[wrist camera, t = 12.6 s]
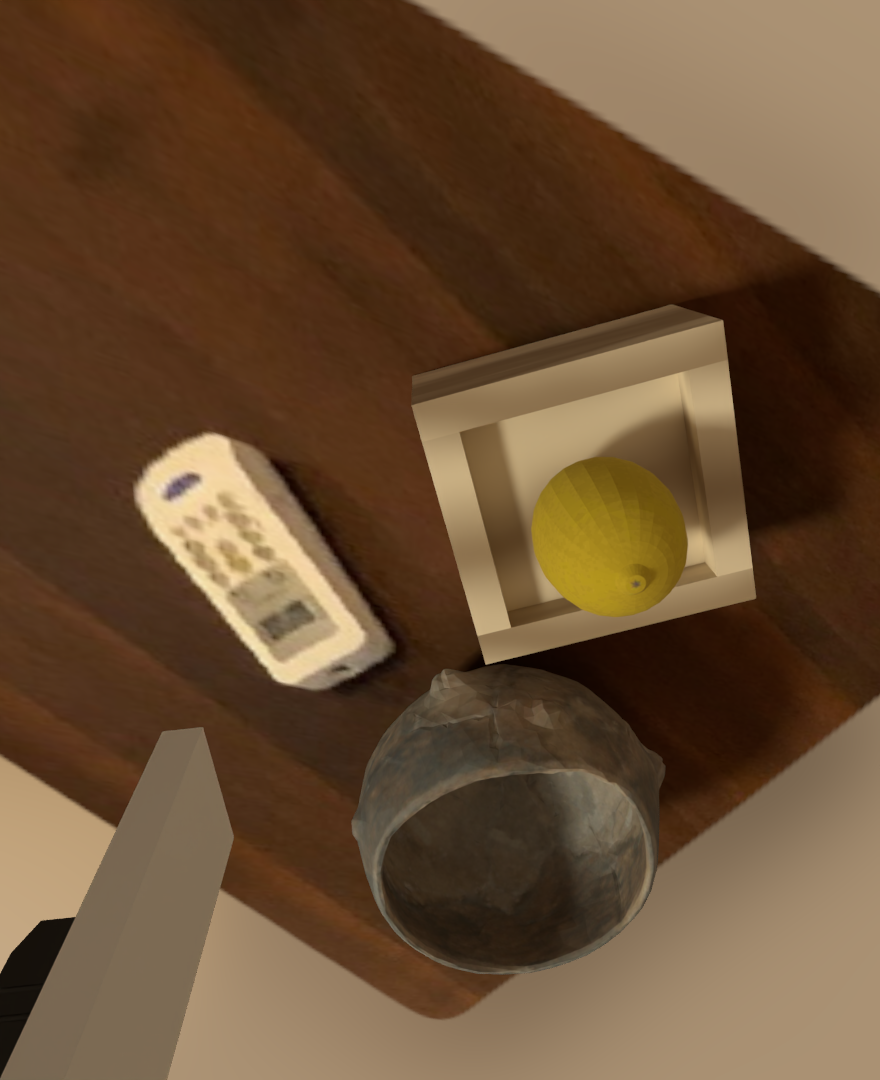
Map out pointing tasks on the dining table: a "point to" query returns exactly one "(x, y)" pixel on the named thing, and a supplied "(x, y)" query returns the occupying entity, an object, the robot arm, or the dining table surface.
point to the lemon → (609, 536)
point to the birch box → (577, 434)
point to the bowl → (509, 821)
